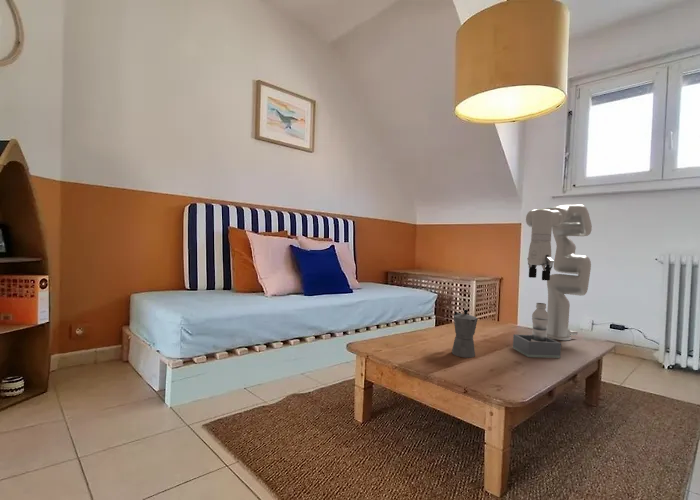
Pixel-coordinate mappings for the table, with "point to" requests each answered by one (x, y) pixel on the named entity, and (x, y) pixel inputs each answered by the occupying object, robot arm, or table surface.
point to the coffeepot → (464, 335)
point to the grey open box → (536, 347)
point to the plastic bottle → (540, 323)
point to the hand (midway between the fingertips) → (538, 278)
